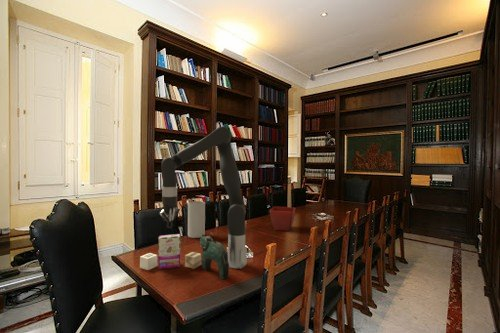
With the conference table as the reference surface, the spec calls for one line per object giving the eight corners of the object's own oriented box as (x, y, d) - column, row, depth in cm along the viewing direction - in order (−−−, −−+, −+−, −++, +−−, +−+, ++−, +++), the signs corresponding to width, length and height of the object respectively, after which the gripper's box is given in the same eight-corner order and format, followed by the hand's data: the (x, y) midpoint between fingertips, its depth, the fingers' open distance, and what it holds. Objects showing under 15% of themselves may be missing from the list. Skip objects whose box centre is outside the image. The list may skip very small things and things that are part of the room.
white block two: (157, 266, 132) (157, 254, 132) (147, 270, 127) (147, 258, 127) (149, 263, 135) (149, 252, 135) (139, 267, 130) (140, 256, 129)
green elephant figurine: (198, 268, 130) (198, 230, 129) (208, 264, 134) (208, 228, 134) (221, 281, 116) (222, 239, 115) (232, 277, 120) (232, 236, 120)
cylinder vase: (202, 238, 180) (203, 204, 179) (185, 238, 180) (185, 203, 180) (206, 233, 192) (206, 201, 192) (190, 233, 193) (190, 201, 192)
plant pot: (269, 230, 202) (269, 210, 202) (273, 225, 220) (273, 206, 220) (292, 232, 197) (292, 211, 196) (295, 226, 215) (295, 207, 215)
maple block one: (201, 264, 134) (201, 253, 134) (193, 268, 129) (193, 257, 129) (192, 262, 137) (192, 251, 137) (184, 266, 132) (184, 255, 132)
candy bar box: (180, 263, 136) (180, 233, 135) (180, 267, 131) (180, 236, 130) (158, 265, 133) (159, 235, 132) (158, 269, 128) (158, 237, 127)
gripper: (165, 197, 123) (165, 231, 124) (183, 194, 135) (183, 225, 135) (154, 196, 127) (154, 229, 127) (173, 193, 139) (173, 224, 139)
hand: (169, 227), depth 131 cm, fingers closed
